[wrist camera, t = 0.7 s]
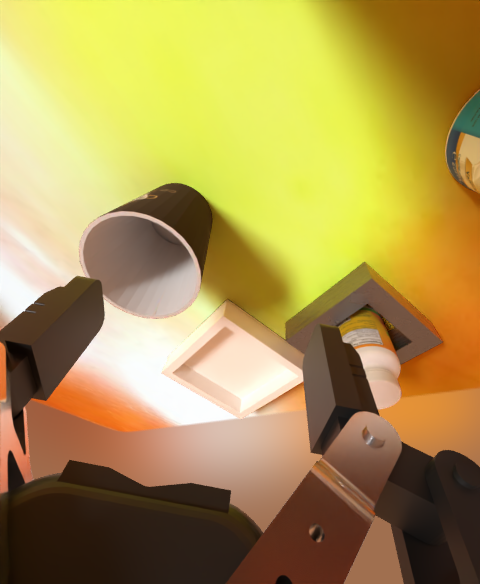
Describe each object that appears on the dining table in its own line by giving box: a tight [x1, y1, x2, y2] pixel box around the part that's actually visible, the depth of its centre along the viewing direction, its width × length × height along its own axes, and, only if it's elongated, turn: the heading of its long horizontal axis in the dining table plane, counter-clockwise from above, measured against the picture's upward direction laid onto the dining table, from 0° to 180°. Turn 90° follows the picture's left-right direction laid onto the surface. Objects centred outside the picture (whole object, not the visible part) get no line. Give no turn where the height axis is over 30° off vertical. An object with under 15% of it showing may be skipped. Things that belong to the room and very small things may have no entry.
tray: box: [162, 299, 304, 419], centre depth 39 cm, size 13×13×3 cm
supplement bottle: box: [335, 306, 401, 409], centre depth 30 cm, size 5×5×10 cm
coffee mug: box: [79, 183, 212, 319], centre depth 26 cm, size 12×9×10 cm
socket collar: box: [286, 262, 443, 365], centre depth 33 cm, size 11×11×3 cm
